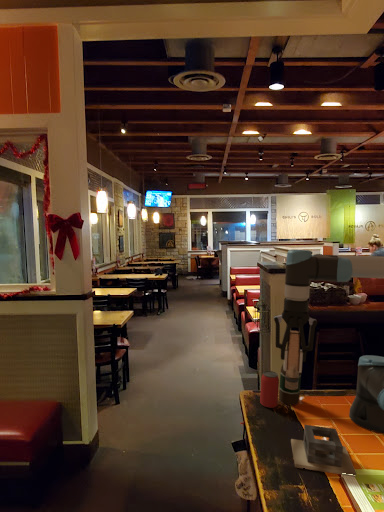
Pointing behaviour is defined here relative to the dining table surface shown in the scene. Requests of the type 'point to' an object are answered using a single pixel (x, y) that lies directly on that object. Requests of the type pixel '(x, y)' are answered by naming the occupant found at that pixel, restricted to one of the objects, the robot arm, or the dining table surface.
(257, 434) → the dining table surface
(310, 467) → the collar stand
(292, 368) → the copper tube
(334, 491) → the dining table surface
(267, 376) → the beer can
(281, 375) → the beer bottle
